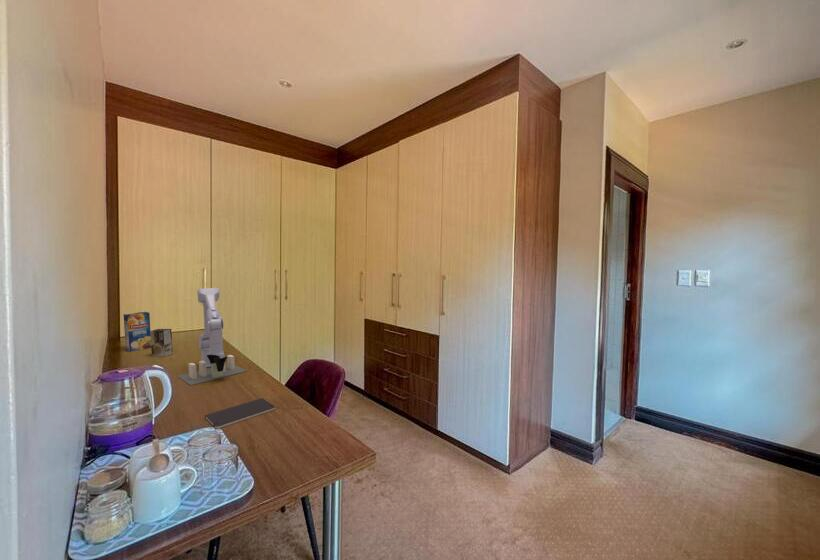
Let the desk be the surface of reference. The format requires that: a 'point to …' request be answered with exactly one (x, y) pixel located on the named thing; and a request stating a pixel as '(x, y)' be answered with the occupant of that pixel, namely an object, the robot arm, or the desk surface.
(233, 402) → the desk surface
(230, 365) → the domino
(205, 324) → the robot arm
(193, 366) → the domino
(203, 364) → the domino
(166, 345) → the coffee box
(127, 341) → the blue food box
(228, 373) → the charcoal mat
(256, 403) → the notebook
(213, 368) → the sage domino
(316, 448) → the desk surface
